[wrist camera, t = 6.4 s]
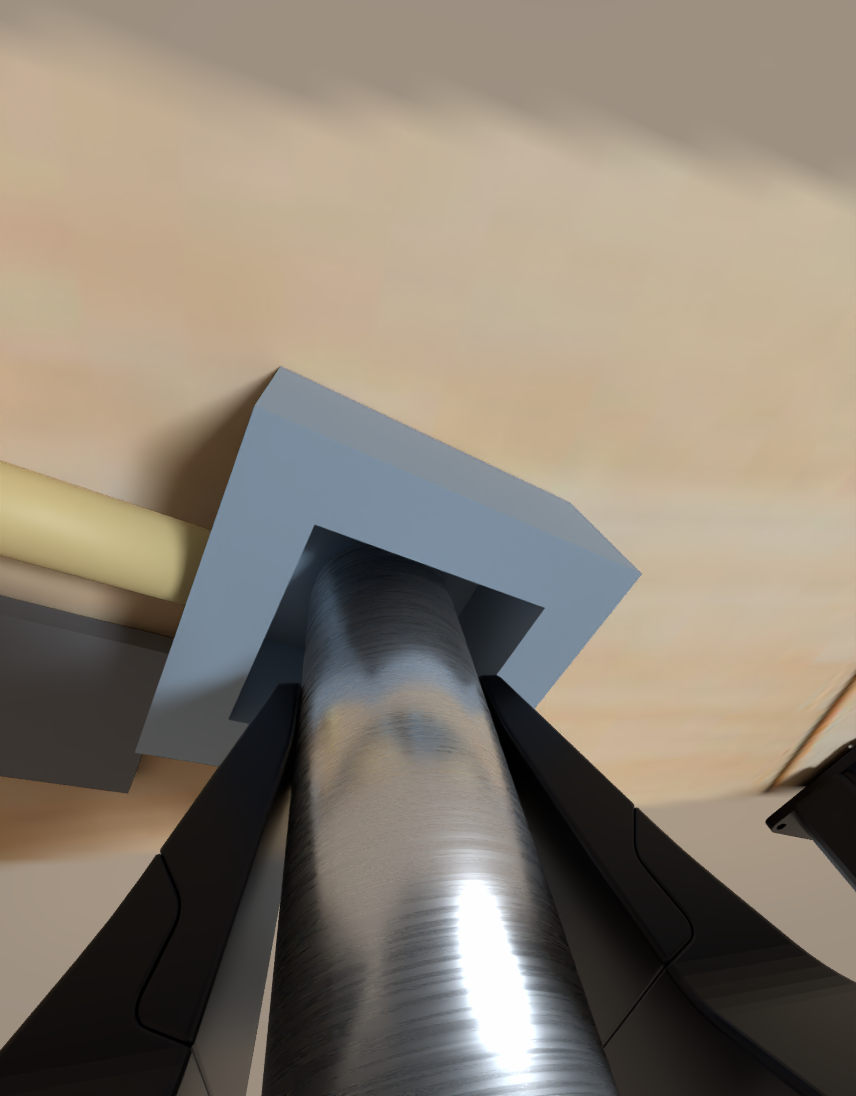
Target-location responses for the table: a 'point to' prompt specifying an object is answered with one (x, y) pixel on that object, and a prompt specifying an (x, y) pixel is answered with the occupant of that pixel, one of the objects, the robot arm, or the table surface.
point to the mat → (74, 696)
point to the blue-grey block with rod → (324, 557)
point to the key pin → (413, 870)
